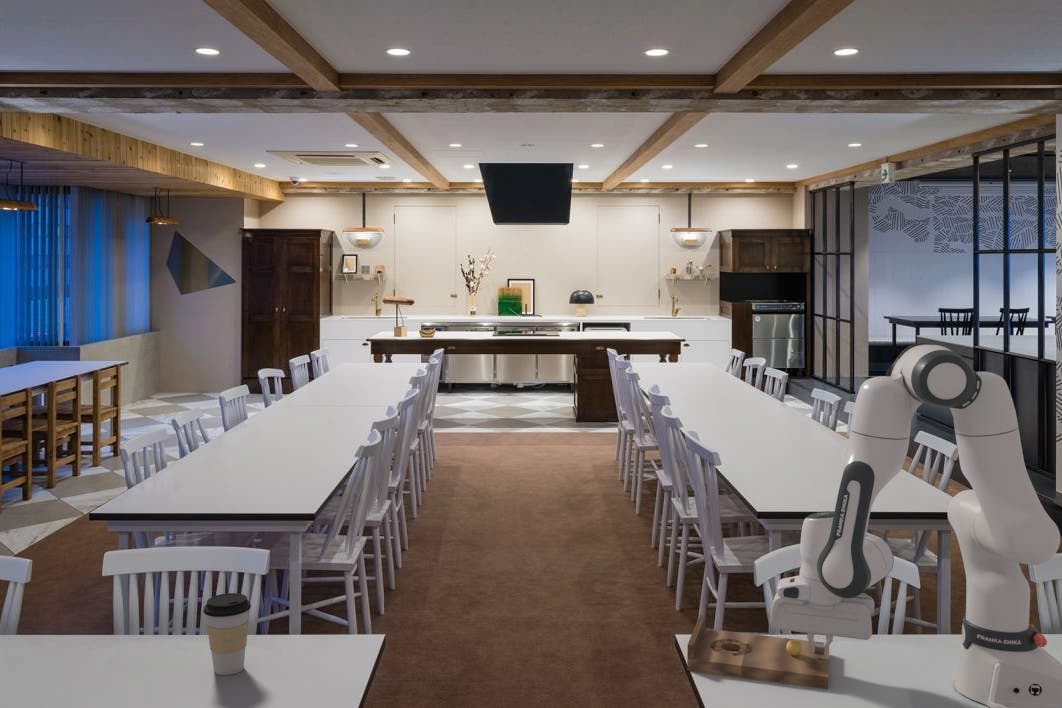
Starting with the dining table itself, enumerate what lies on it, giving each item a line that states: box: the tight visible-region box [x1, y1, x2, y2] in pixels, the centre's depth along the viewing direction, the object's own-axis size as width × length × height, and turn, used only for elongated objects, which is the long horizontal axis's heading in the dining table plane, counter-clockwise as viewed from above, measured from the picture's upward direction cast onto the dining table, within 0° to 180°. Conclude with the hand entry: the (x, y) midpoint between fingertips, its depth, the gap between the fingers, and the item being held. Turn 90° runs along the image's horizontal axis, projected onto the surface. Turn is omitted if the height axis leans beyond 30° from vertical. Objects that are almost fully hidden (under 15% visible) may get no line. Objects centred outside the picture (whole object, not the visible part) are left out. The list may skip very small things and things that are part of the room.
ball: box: [786, 639, 802, 656], centre depth 190 cm, size 3×3×3 cm
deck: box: [686, 614, 830, 690], centre depth 193 cm, size 28×18×6 cm, turn 71°
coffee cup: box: [202, 592, 252, 676], centre depth 189 cm, size 9×9×15 cm
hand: (819, 653), depth 189 cm, fingers closed
